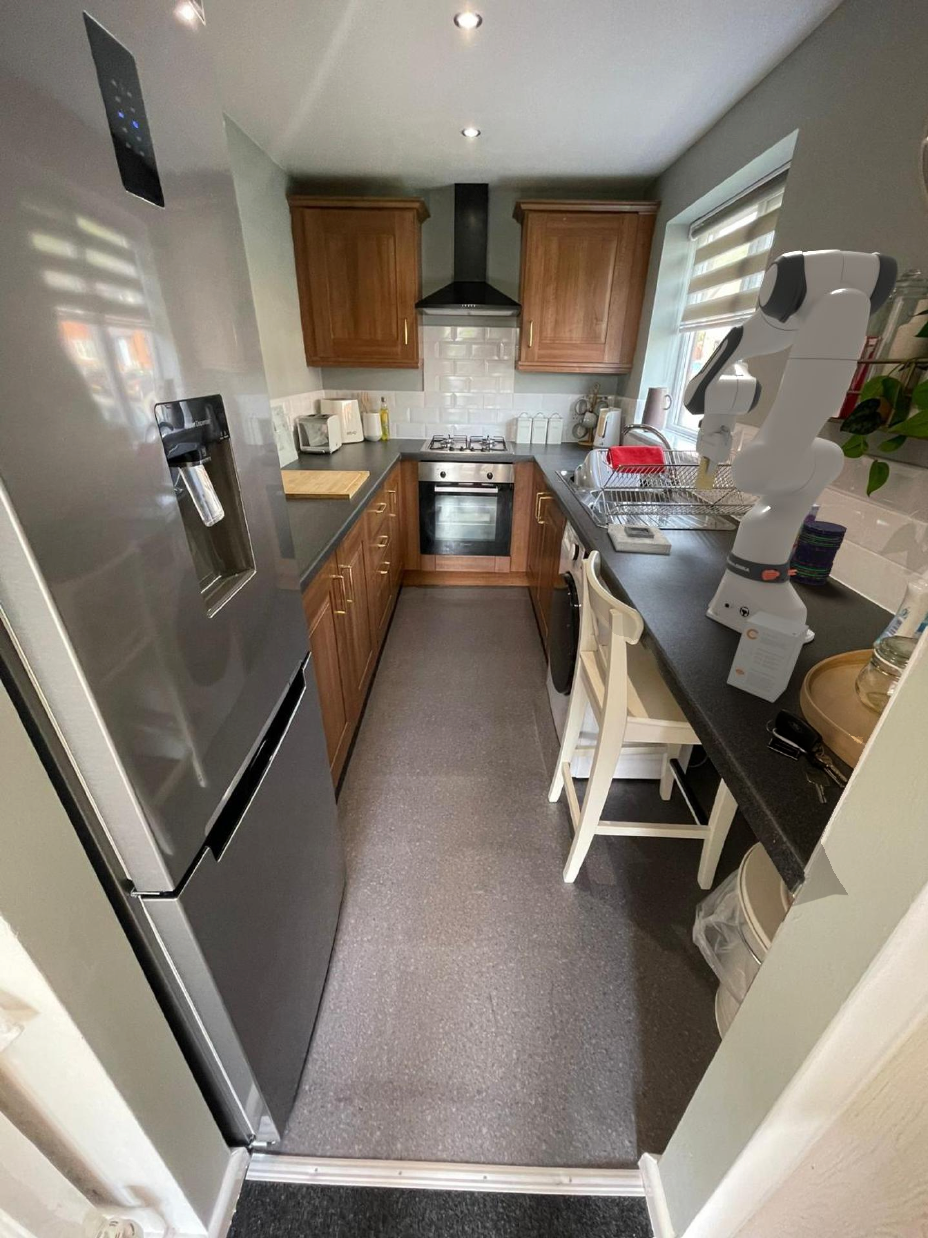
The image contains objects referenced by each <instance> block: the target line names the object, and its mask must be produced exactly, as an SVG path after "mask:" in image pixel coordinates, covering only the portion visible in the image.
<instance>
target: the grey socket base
mask: <svg viewBox="0 0 928 1238" xmlns="http://www.w3.org/2000/svg"><path fill="white" fill-rule="evenodd" d="M607 530H608V531H607V533H608V535H609V538H610V540H611V541H612V544H613V546H614V548H615V550H616V551H617V552H627V553H628V552H629V553H632V552H633V553H642V554H643V553H646V554H657V555H658V554H659V555H670V554H671V550H672V546H673V545H672V543H671V542H670V540H668V538H667V537H666V536H665V535H664V533H663V532H662V531H661V529H660V528H659V527H658V526H657V525H641V524H626V523H625V524H621V523H609V524H608V528H607Z"/></svg>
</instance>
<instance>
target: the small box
mask: <svg viewBox="0 0 928 1238" xmlns="http://www.w3.org/2000/svg"><path fill="white" fill-rule="evenodd" d="M809 627H810V626H809V625H807V624H805V625H804V624H801V623H797V622H794V621H791V620H788V619H785V618H782V617H778V616H775V615H772V614H769V613H766V612H763V611H759V612H757V613H756V614H755V615H753V616H752V617H750V618H749V619H747V620H746V622H745V626H744V629H743V632H742V633H741V636H740V638H739V643H738V645H737V649H736V650H735V651H736V652H735V655H734V657H733V661H732V664H731V667H730V671H729V673H728V677H727V681H726V684H728V685H730V686H733V687H735V688H737V689H740V690H741V691H742V690H743V691H745V692H746V693H749V694H751V695H753V696H757V697H759V698H761V699H764V700H766V701H768V702H770V703H774V702H776V700H777V699H778V698H779V697H780V696H781V695H782V694H783V692H785V691H786V689H787V687H788V684H789V681H790V679H791V676H792V673H793V671H794V669H795V666H796V663H797V660H798V657H799V656H800V653H801V650H802V648H803V645H804V643H803V642H804V640H805V637H806V634H807V631H808V629H810V628H809Z"/></svg>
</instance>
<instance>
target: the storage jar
mask: <svg viewBox="0 0 928 1238" xmlns="http://www.w3.org/2000/svg"><path fill="white" fill-rule="evenodd" d="M847 530H848V528H847V527H845V526H844V525H841V524H838V523H833V522H829V521H825V520H824V521H823V520H815V521H805V522H804V524H803V527H802V529H801V531H800V534H799V538H798V541H797V543H798V544H797V547H796V550H795V552H794V555H793V556H792V558H791V561H790V563H789V564H790V570H797V571H796V572H792V573H795V574H796V575H790V579H791V580H793V581H795V582H798V583H802V584H805V585H815V586H816V585H817V586H820V585H825V584H826V583H827V581H828V580H827V579H828V578H829V576H830V575H831V572H832V568H833V567H834V566H833V565H834V560H835V558H836V555H837V553H838V551H840V548H841V545H842V544H843V541H844V537H845V535H846V534H845V533H846V532H847ZM790 579H789V580H790Z"/></svg>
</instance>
